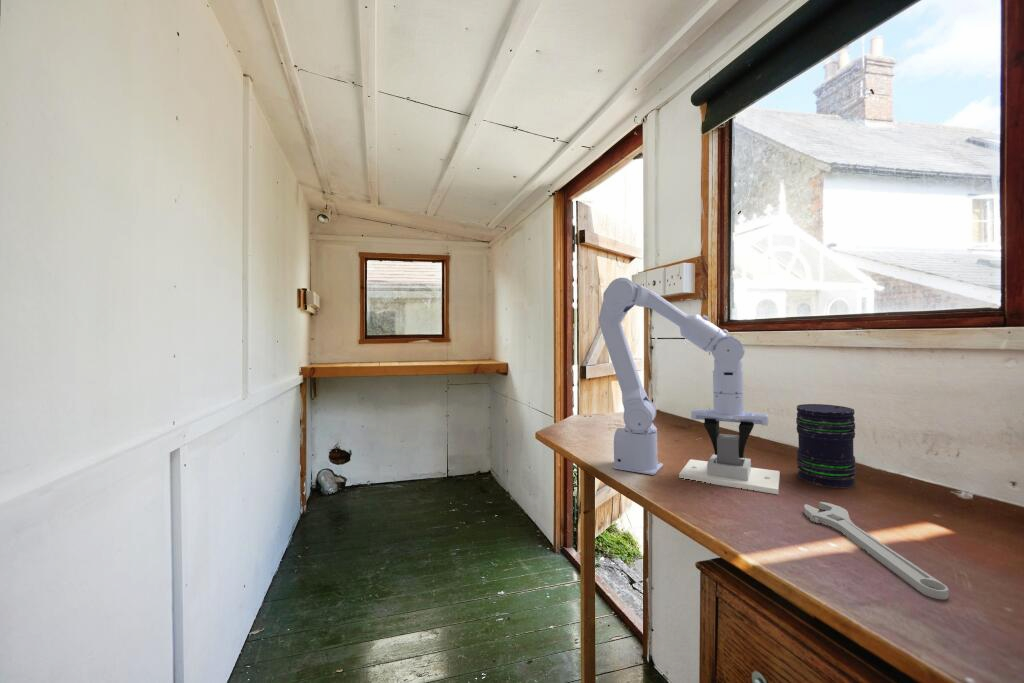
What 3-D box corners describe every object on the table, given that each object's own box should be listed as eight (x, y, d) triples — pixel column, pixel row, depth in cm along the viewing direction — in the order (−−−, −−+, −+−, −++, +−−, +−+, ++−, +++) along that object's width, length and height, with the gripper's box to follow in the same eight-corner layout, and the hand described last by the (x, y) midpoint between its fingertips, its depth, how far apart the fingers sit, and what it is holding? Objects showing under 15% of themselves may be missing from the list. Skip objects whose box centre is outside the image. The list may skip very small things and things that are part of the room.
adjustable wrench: (956, 605, 49) (956, 590, 49) (891, 600, 50) (891, 585, 50) (837, 512, 73) (836, 502, 73) (795, 510, 74) (795, 500, 74)
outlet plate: (679, 478, 91) (678, 462, 90) (690, 463, 100) (690, 448, 100) (778, 494, 81) (777, 476, 80) (779, 475, 91) (779, 459, 90)
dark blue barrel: (824, 489, 82) (823, 413, 82) (785, 473, 92) (784, 405, 92) (869, 486, 84) (868, 411, 83) (826, 470, 93) (825, 403, 93)
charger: (717, 465, 90) (716, 437, 89) (720, 460, 93) (719, 433, 93) (738, 468, 87) (738, 439, 87) (740, 463, 91) (740, 435, 90)
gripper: (688, 392, 91) (689, 455, 91) (766, 396, 83) (767, 465, 83) (694, 388, 97) (695, 447, 97) (768, 392, 89) (769, 456, 89)
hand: (729, 455), depth 90 cm, fingers closed on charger, 4 cm apart
